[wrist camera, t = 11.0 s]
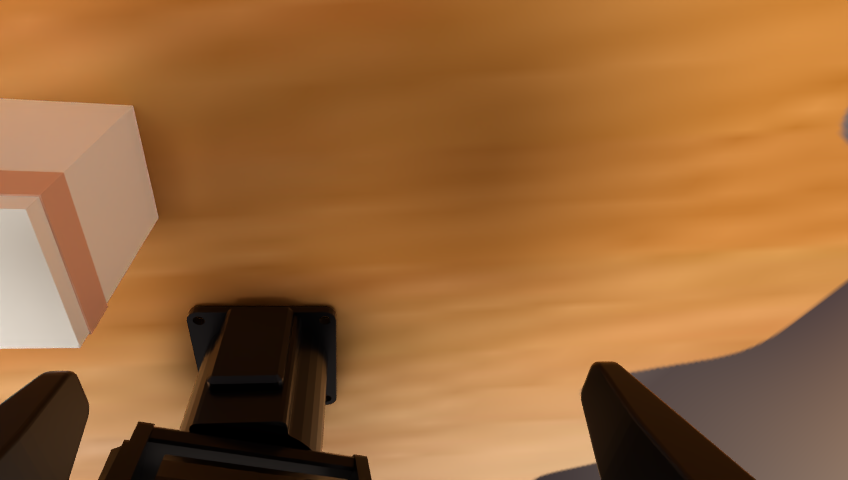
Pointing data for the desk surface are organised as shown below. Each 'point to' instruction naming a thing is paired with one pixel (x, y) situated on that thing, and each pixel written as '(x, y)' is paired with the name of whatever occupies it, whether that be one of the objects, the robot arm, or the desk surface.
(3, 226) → the light grey boxy piece
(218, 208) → the desk surface
